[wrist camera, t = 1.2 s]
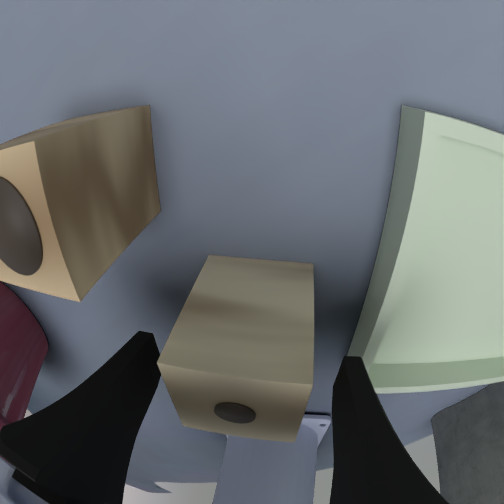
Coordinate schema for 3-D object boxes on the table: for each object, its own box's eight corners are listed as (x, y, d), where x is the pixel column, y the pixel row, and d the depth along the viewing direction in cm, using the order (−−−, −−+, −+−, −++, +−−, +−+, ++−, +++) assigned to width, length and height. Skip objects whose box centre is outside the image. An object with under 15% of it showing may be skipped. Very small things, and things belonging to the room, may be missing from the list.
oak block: (161, 210, 12) (78, 304, 7) (82, 209, 13) (-3, 281, 8) (150, 104, 10) (30, 142, 5) (66, 119, 10) (-42, 164, 5)
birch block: (302, 335, 15) (294, 444, 10) (216, 326, 15) (182, 427, 10) (313, 263, 13) (312, 387, 7) (209, 254, 13) (155, 365, 8)
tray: (511, 354, 14) (521, 377, 12) (344, 361, 15) (346, 393, 14) (591, 176, 7) (615, 193, 5) (401, 105, 8) (425, 111, 7)
